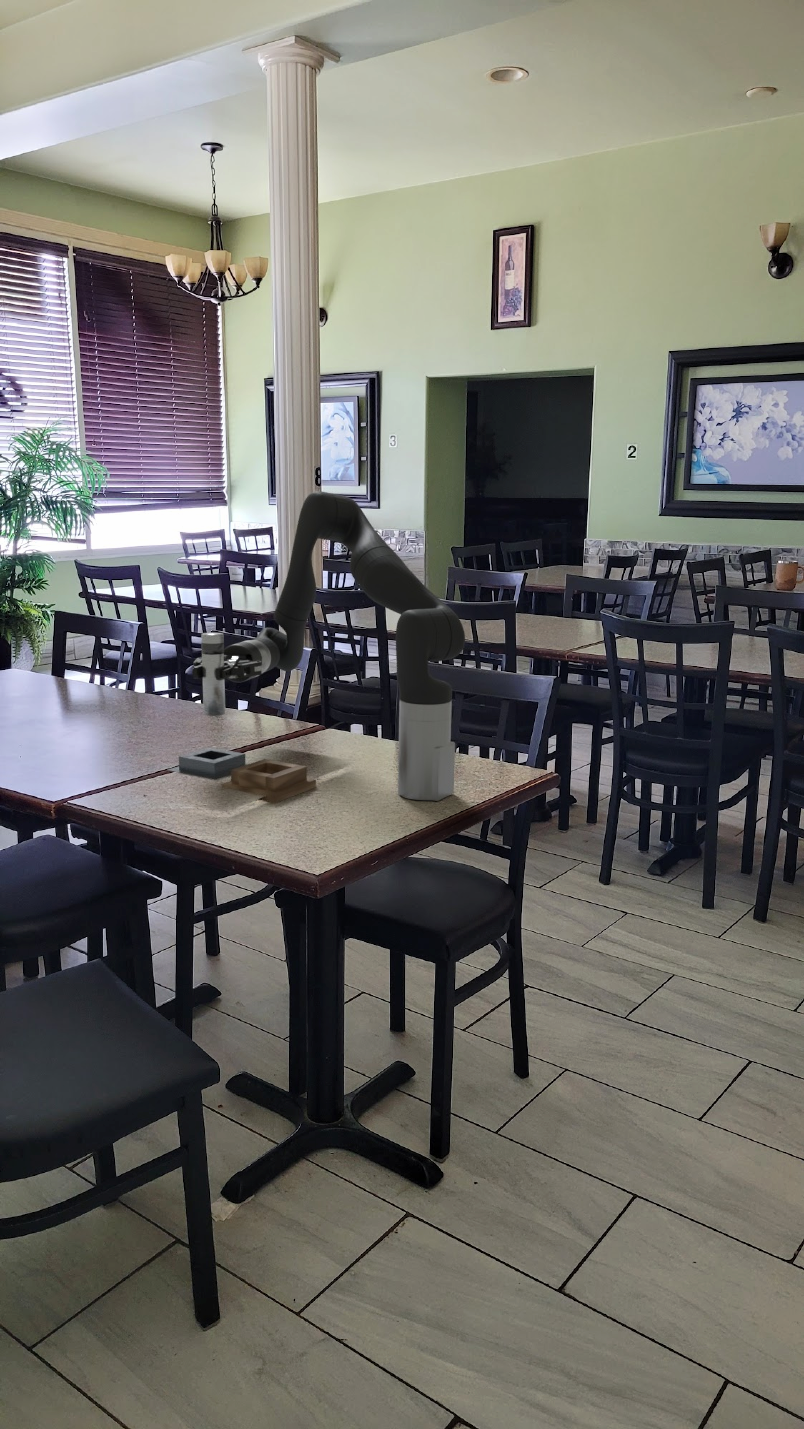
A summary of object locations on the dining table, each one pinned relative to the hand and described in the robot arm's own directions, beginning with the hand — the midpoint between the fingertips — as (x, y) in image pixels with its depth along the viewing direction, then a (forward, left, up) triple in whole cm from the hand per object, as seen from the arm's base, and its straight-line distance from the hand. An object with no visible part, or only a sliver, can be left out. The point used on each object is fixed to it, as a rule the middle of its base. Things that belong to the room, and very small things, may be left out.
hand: (206, 673), depth 191 cm
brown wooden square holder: (-14, 0, -20) cm, 24 cm away
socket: (+2, -3, -20) cm, 20 cm away
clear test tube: (+1, -3, -8) cm, 8 cm away
